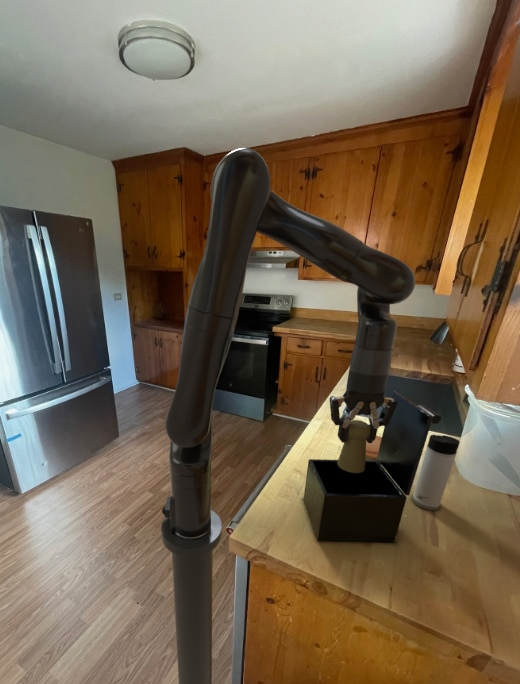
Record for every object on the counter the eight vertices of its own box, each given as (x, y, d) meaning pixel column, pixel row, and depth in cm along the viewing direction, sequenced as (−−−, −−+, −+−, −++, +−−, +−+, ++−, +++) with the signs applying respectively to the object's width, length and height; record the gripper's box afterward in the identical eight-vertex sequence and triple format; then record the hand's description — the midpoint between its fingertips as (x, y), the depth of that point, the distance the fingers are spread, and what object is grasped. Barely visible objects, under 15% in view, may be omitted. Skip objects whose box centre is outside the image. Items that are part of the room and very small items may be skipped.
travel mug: (418, 510, 86) (438, 442, 78) (408, 494, 92) (426, 430, 84) (444, 512, 85) (466, 444, 77) (432, 496, 91) (452, 432, 83)
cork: (369, 473, 73) (378, 429, 69) (341, 472, 73) (350, 428, 69) (359, 458, 79) (367, 417, 75) (333, 458, 79) (340, 416, 75)
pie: (394, 471, 102) (398, 457, 100) (342, 459, 108) (344, 446, 106) (394, 449, 115) (397, 436, 113) (347, 439, 121) (349, 427, 119)
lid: (429, 416, 63) (458, 417, 63) (393, 390, 77) (417, 391, 77) (405, 495, 70) (431, 496, 70) (376, 458, 84) (398, 459, 84)
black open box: (317, 541, 75) (324, 495, 70) (303, 499, 89) (308, 459, 84) (394, 543, 75) (407, 497, 70) (368, 501, 89) (377, 460, 84)
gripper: (395, 364, 71) (380, 434, 77) (328, 362, 71) (318, 432, 77) (414, 374, 64) (395, 450, 70) (340, 373, 64) (328, 449, 70)
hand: (355, 440), depth 74 cm, fingers closed on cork, 5 cm apart
